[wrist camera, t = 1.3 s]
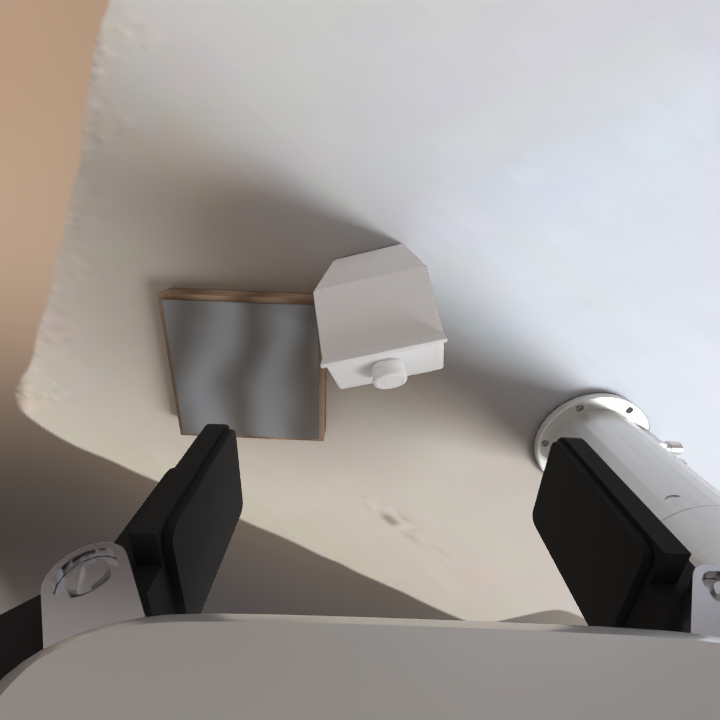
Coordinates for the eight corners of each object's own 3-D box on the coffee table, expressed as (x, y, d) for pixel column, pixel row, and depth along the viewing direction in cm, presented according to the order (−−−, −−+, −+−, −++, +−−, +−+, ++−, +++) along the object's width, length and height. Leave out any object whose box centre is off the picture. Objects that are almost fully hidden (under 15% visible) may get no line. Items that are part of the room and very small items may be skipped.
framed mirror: (326, 294, 39) (323, 301, 36) (325, 428, 45) (323, 443, 42) (170, 287, 39) (155, 294, 36) (191, 422, 45) (179, 436, 42)
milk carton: (333, 259, 37) (302, 305, 20) (403, 242, 37) (437, 275, 19) (350, 327, 40) (336, 421, 22) (416, 312, 39) (456, 397, 22)
